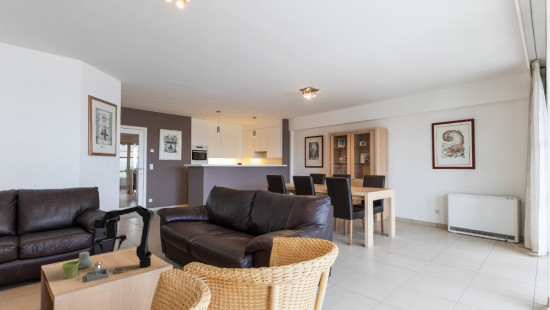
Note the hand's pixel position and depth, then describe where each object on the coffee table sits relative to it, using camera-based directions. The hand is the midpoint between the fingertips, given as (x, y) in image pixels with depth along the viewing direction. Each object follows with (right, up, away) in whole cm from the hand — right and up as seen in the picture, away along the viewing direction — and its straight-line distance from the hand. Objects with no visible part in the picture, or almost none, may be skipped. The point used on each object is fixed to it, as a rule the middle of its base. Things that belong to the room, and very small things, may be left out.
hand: (110, 251), depth 186 cm
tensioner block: (+9, -12, -6) cm, 16 cm away
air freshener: (-21, -13, +3) cm, 25 cm away
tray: (+1, -12, -15) cm, 19 cm away
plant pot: (-18, -12, -13) cm, 25 cm away
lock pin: (+1, -11, -15) cm, 18 cm away
